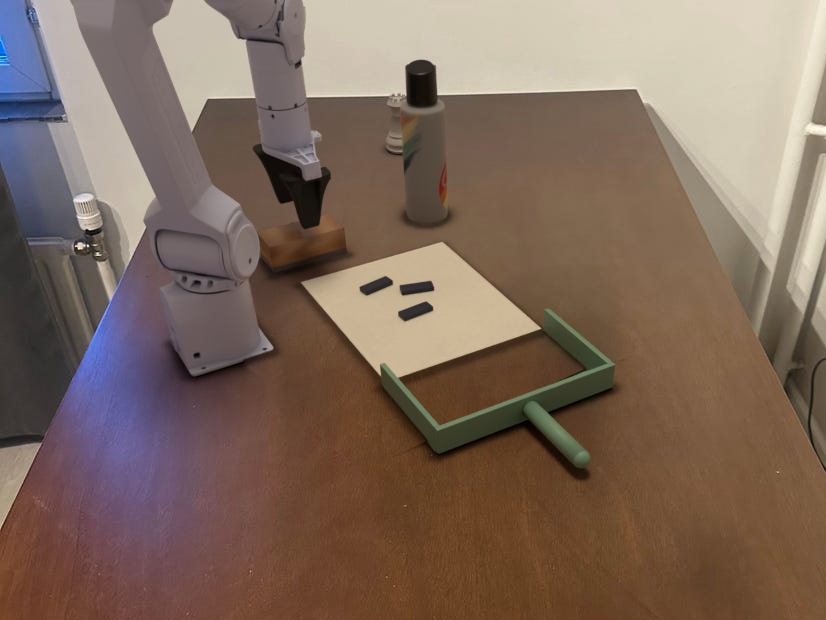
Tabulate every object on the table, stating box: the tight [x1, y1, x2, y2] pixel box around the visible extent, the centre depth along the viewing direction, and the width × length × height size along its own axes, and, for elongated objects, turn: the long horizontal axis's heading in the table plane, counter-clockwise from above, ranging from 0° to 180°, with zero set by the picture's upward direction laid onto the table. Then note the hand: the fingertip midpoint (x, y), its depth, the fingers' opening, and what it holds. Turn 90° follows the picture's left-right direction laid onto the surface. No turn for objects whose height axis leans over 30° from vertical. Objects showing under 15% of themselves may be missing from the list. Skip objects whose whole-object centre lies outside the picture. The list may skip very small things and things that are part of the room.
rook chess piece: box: [385, 92, 407, 155], centre depth 136 cm, size 4×4×8 cm
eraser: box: [256, 212, 348, 274], centre depth 114 cm, size 10×4×4 cm, turn 121°
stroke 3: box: [398, 301, 433, 321], centre depth 105 cm, size 4×2×1 cm, turn 126°
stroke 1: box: [359, 276, 393, 295], centre depth 109 cm, size 4×2×1 cm, turn 130°
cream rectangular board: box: [300, 241, 542, 379], centre depth 106 cm, size 20×24×1 cm
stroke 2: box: [399, 281, 434, 295], centre depth 108 cm, size 4×2×1 cm, turn 106°
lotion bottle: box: [400, 59, 449, 224], centre depth 116 cm, size 6×6×20 cm
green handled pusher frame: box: [380, 307, 616, 469], centre depth 91 cm, size 22×21×3 cm
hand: (298, 213), depth 111 cm, fingers open, 7 cm apart
